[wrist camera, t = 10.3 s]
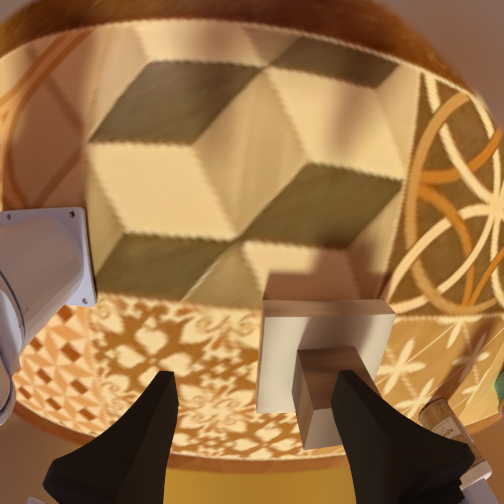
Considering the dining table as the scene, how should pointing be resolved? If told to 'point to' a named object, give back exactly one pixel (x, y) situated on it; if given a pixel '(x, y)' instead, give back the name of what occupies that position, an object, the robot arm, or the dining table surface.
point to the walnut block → (322, 391)
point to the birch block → (314, 340)
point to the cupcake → (500, 392)
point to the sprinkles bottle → (454, 437)
